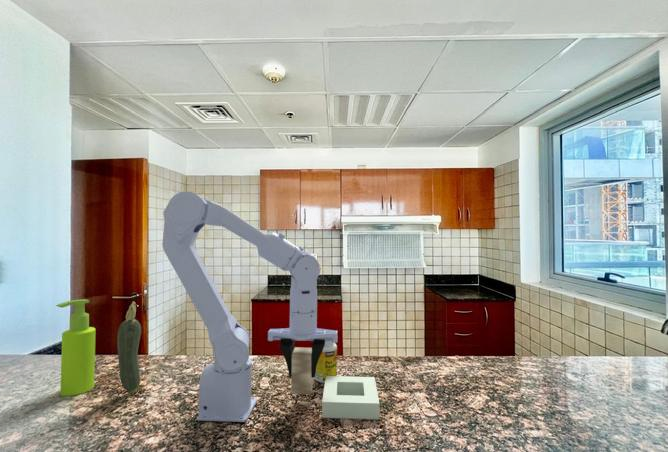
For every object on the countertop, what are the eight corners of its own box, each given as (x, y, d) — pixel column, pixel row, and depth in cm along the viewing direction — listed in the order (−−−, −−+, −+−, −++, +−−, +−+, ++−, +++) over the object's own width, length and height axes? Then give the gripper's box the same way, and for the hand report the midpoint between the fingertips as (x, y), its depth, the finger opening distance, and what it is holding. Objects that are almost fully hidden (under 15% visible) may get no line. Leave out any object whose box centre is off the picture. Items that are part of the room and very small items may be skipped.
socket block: (321, 417, 60) (322, 401, 60) (325, 389, 71) (325, 375, 71) (379, 419, 60) (379, 403, 60) (374, 390, 71) (374, 377, 71)
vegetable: (128, 400, 66) (129, 304, 66) (110, 398, 67) (112, 304, 67) (144, 390, 70) (146, 300, 71) (128, 388, 71) (129, 299, 72)
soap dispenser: (49, 394, 68) (51, 301, 69) (86, 381, 74) (88, 296, 75) (62, 400, 66) (64, 304, 66) (99, 386, 72) (101, 298, 72)
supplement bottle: (324, 386, 72) (324, 341, 73) (309, 378, 76) (309, 336, 77) (341, 378, 76) (341, 336, 77) (326, 371, 80) (326, 331, 81)
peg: (291, 393, 64) (291, 354, 64) (294, 384, 68) (295, 347, 68) (310, 394, 64) (311, 354, 64) (312, 385, 68) (313, 347, 68)
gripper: (264, 314, 63) (263, 383, 62) (337, 315, 62) (336, 385, 62) (272, 306, 70) (271, 367, 69) (338, 307, 69) (337, 369, 69)
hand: (302, 375), depth 66 cm, fingers closed on peg, 4 cm apart
